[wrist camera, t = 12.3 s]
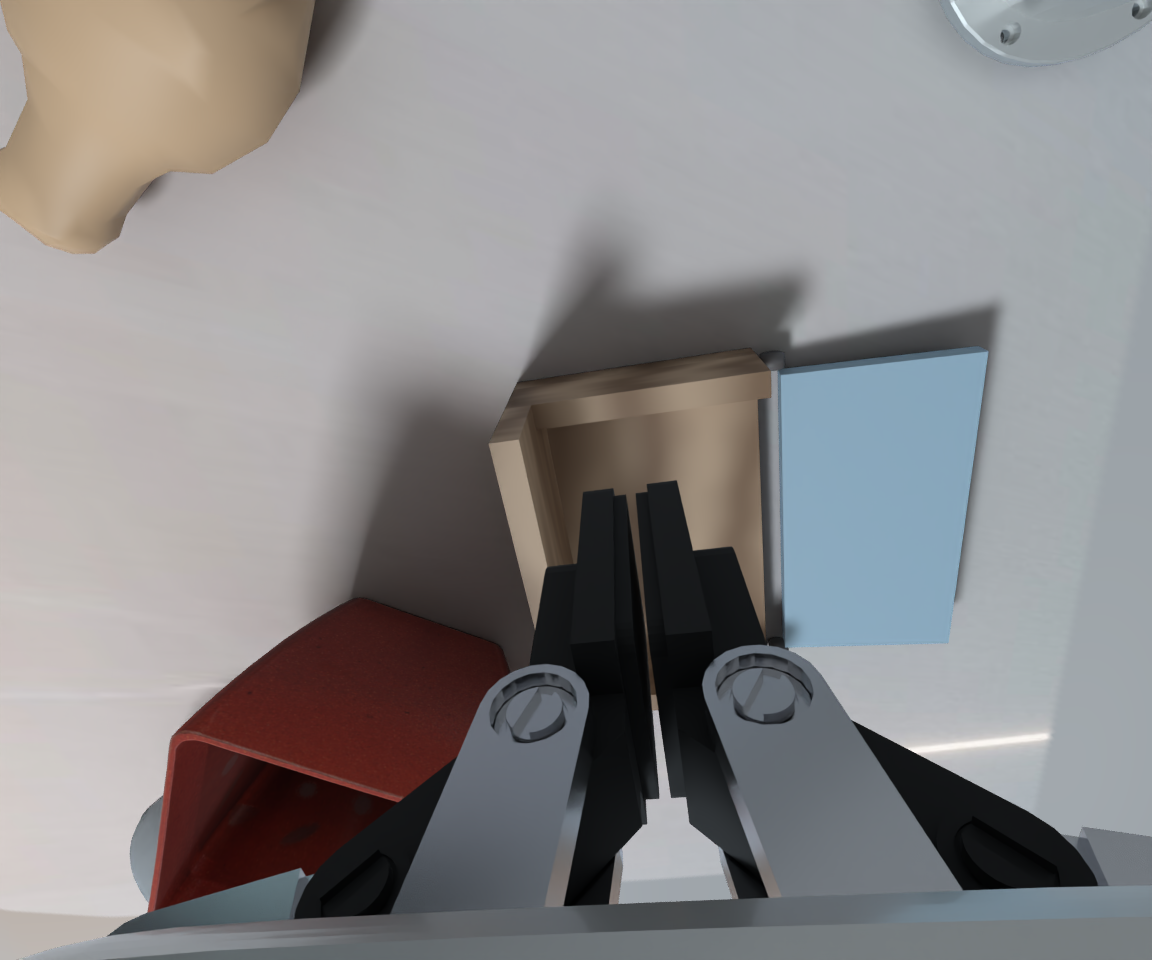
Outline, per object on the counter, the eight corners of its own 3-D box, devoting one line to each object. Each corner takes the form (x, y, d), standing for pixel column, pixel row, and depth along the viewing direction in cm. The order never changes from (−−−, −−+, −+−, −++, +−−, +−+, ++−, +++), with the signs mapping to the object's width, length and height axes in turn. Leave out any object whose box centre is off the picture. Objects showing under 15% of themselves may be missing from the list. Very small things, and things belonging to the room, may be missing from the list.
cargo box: (780, 343, 36) (838, 395, 27) (785, 648, 46) (828, 760, 37) (517, 382, 38) (488, 443, 29) (578, 667, 48) (571, 777, 39)
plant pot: (319, 543, 44) (167, 730, 29) (559, 627, 46) (534, 840, 31) (278, 712, 52) (143, 927, 37) (483, 776, 54) (435, 1002, 39)
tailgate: (777, 369, 36) (978, 345, 34) (782, 636, 45) (941, 631, 43) (780, 375, 35) (988, 351, 33) (785, 647, 44) (948, 643, 42)
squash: (397, 31, 30) (318, -26, 22) (184, 299, 36) (63, 331, 28) (214, -192, 26) (42, -356, 18) (17, 147, 33) (-174, 135, 25)
